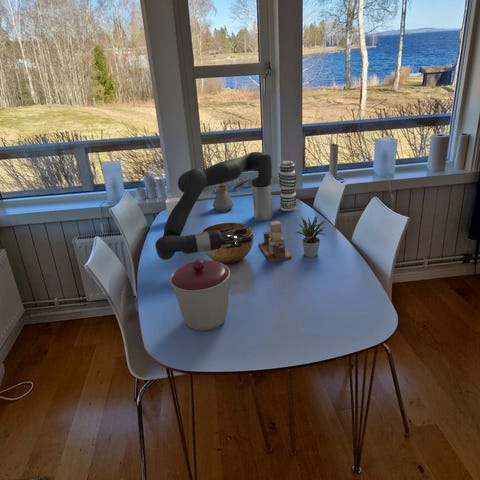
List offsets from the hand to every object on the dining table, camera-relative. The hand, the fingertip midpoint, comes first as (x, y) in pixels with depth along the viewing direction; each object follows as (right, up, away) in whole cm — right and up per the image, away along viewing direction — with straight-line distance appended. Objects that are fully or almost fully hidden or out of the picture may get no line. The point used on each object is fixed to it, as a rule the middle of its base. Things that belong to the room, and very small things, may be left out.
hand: (248, 234), depth 159 cm
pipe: (+11, -4, +8) cm, 14 cm away
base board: (+11, -7, +10) cm, 16 cm away
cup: (-36, +7, +52) cm, 64 cm away
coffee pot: (-7, +15, +64) cm, 66 cm away
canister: (-14, -28, -31) cm, 44 cm away
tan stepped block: (+12, -7, +6) cm, 15 cm away
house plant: (+26, -8, +4) cm, 27 cm away
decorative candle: (+22, +15, +57) cm, 63 cm away
